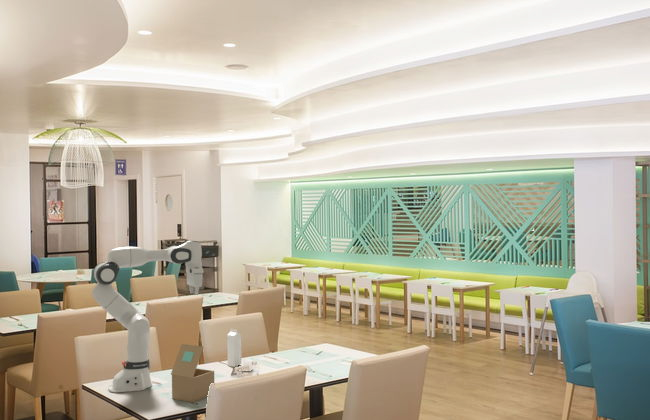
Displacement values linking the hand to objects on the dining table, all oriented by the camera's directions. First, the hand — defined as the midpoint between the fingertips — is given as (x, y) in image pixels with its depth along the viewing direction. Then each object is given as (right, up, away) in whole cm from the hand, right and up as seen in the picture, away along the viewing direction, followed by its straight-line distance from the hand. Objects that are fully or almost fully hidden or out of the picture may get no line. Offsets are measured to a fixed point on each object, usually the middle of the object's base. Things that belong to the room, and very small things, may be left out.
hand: (194, 294), depth 363 cm
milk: (+18, -48, +31) cm, 60 cm away
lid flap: (+4, -29, -36) cm, 47 cm away
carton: (+6, -48, -33) cm, 58 cm away
